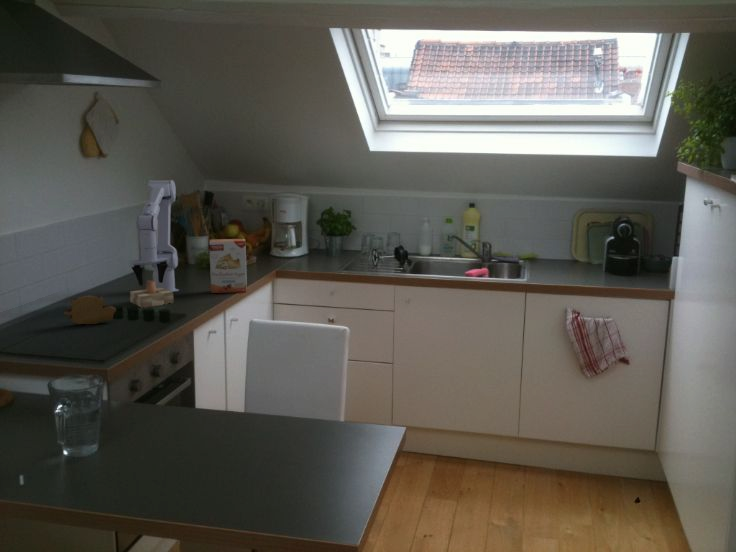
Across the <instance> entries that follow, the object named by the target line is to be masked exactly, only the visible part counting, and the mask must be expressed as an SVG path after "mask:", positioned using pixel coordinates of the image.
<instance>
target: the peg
mask: <svg viewBox="0 0 736 552" xmlns="http://www.w3.org/2000/svg"><path fill="white" fill-rule="evenodd" d="M145 285H146V286H145V287H146V288H145V289H146V290H147V294H151V293H156V282H155V280H153V279H150V280H149V279H148V280H146V281H145Z"/></svg>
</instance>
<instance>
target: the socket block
mask: <svg viewBox="0 0 736 552" xmlns="http://www.w3.org/2000/svg"><path fill="white" fill-rule="evenodd" d="M129 297H130V300H129V301H130V303H132V304H134V305H136V306H138V307H140V308H142V309H144V308H148V307H149V308H150V307H156V306H163V304H164V305H169V304H168V303H171V304H174V303H175V302H174V292H170V291H168V290H166V289H163V288H161V287H160V288H156V293H151V294H147V290H146V288H145V289H137V290H132V291H131V290H130V291H129ZM143 307H144V308H143Z"/></svg>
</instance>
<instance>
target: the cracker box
mask: <svg viewBox="0 0 736 552" xmlns="http://www.w3.org/2000/svg"><path fill="white" fill-rule="evenodd" d="M208 244H209V264H210V266H209V267H210V271H209V272H210V292H211V294H222V293H223V294H229V293H247V292H248V291H247V290H248V286H247V284H248V280H247V277H248V276H247V253H246V252H247V251H246V250H247V249H246V248H247V247H246V239H245V238H229V239H228V238H226V239H225V238H224V239H223V238H220V239H217V238H214V239H209V243H208Z"/></svg>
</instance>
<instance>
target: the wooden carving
mask: <svg viewBox="0 0 736 552" xmlns="http://www.w3.org/2000/svg"><path fill="white" fill-rule="evenodd" d="M70 306H71V308H70V309H64V310H63V315H65V316H69V318H68V320H69V322H71V323H75V324H77V325H81V324H94V325H96V324H99V323H101V322H102V321H104V322H112V321H113V320H114V316H115V313H116V312H117V308H116V306H114V305H112V304H111V305H110V304H108V305H107V304H106V305H105V300H104V298H103V295H102V296H97V295H94V294H93V295H92V294H88V295H81V296H78V297H77V298H72V299H71V301H70Z"/></svg>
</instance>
